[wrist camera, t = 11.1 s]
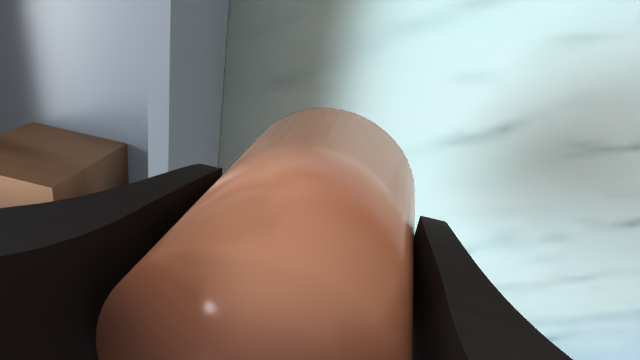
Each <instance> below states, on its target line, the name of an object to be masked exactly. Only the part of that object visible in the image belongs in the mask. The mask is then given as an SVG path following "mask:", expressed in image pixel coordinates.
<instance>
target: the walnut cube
mask: <svg viewBox="0 0 640 360" xmlns="http://www.w3.org/2000/svg"><path fill="white" fill-rule="evenodd" d="M126 184H129V177H128V151H127V143H123V142H118V141H114V140H110V139H105V138H101V137H97V136H92V135H88V134H83V133H79V132H75V131H70V130H66V129H61V128H57V127H53V126H48V125H44V124H40V123H35V122H31V123H29V124H26V125H24V126H21V127H19V128H16V129H13V130H11V131H8V132H6V133H3V134H1V135H0V208H5V207H13V206H22V205H30V204H39V203H45V202H52V201H57V200H63V199H68V198H74V197H78V196H83V195H88V194H92V193H96V192H100V191H104V190H107V189H111V188H115V187H119V186H122V185H126Z"/></svg>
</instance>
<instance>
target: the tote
mask: <svg viewBox="0 0 640 360" xmlns="http://www.w3.org/2000/svg"><path fill="white" fill-rule="evenodd" d="M228 12H229V0H0V135H1V134H3V133H6V132H8V131H11V130H13V129H16V128H19V127H21V126H24V125H26V124H29V123H31V122H35V123H40V124H44V125H48V126H53V127H57V128H61V129H66V130H70V131H75V132H79V133H83V134H88V135H92V136H97V137H101V138H105V139H110V140H114V141H118V142H123V143H127V151H128V177H129V184H130V183H133V182H137V181H140V180H143V179H147V178H150V177H153V176H156V175H159V174H163V173H166V172H169V171H172V170H176V169H179V168H182V167H186V166H190V165H194V164H204V165H209V166H213V167H217V168H218V158H219V143H220V129H221V114H222V99H223V85H224V70H225V56H226V41H227V26H228Z"/></svg>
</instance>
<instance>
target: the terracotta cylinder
mask: <svg viewBox="0 0 640 360" xmlns="http://www.w3.org/2000/svg"><path fill="white" fill-rule="evenodd" d="M414 217H415V187H414V179H413V175H412V171H411V168H410V165H409V163H408V160H407V158H406V157H405V155H404V153H403V151H402V150H401V148H400V147H399V146H398V144H397V143H396V142H395V140H394V139H393V138H392V137H391V136H390V135H389V134H388V133H387V132H386V131H384V130H383V129H382V128H380V127H379V126H378V125H376V124H375V123H373V122H371V121H370V120H368V119H366V118H364V117H362V116H359V115H357V114H355V113H351V112H348V111H344V110H339V109H333V108H314V109H306V110H302V111H298V112H295V113H292V114H290V115H287V116H285V117H283V118H281V119H280V120H278V121H276V122H275V123H274V124H272V125H271V126H270V127H268V128H267V129H266V130H265V131H264V132H263V133H262V134H261V135H260V137H259V138H258V139H257V140H256V141H255V142H254V143H253V144H252V145H251V146H250V147H249V148H248V149H247V150H246V151H245V152H244V153H243V154H242V155H241V156H240V157H239V158H238V159H237V160H236V161H235V162H234V164H233V165H232V166H231V167H230V168H229V169H228V170H227V171H226V172H225V173H224V174H223V175H222V176H221V177H220V178H219V179H218V180H217V181H216V182H215V183H214V184H213V185H212V186H211V187H210V188H209V189H208V191H207V192H206V193H205V194H204V195H203V196H202V197H201V198H200V199H199V200H198V201H197V202H196V203H195V204H194V205H193V206H192V207H191V208H190V209H189V210H188V211H187V212H186V213H185V214H184V215H183V217H182V218H181V219H180V220H179V221H178V222H177V223H176V224H175V225H174V226H173V227H172V228H171V229H170V230H169V231H168V232H167V233H166V234H165V235H164V236H163V237H162V238H161V239H160V240H159V241H158V242H157V244H156V245H155V246H154V247H153V248H152V249H151V250H150V251H149V252H148V253H147V254H146V255H145V256H144V257H143V258H142V259H141V260H140V261H139V262H138V263H137V264H136V265H135V266H134V267H133V268H132V269H131V271H130V272H129V273H128V274H127V275H126V276H125V277H124V278H123V279H122V280H121V281H120V282H119V283H118V284H117V285H116V286H115V287H114V288H113V289H112V291H111V292H110V294H109V296H108V297H107V299H106V300H105V302H104V304H103V307H102V309H101V312H100V314H99V318H98V323H97V328H96V349H97V355H98V360H412V359H413V288H414Z"/></svg>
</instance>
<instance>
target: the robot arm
mask: <svg viewBox="0 0 640 360" xmlns="http://www.w3.org/2000/svg"><path fill="white" fill-rule="evenodd" d="M221 176H222V169H221V168H217V167H213V166H209V165H204V164H194V165H190V166H186V167H182V168H179V169H176V170H172V171H169V172H166V173H163V174H159V175H156V176H153V177H150V178H147V179H143V180H140V181H137V182H133V183H130V184H126V185H122V186H119V187H115V188H111V189H107V190H104V191H100V192H96V193H92V194H88V195H83V196H78V197H74V198H68V199H63V200H57V201H52V202H45V203H39V204H30V205H22V206H13V207H5V208H0V360H98V355H97V349H96V328H97V323H98V318H99V314H100V312H101V309H102V307H103V304H104V302H105V300H106V299H107V297H108V296H109V294H110V292H111V291H112V289H113V288H114V287H115V286H116V285H117V284H118V283H119V282H120V281H121V280H122V279H123V278H124V277H125V276H126V275H127V274H128V273H129V272H130V271H131V269H132V268H133V267H134V266H135V265H136V264H137V263H138V262H139V261H140V260H141V259H142V258H143V257H144V256H145V255H146V254H147V253H148V252H149V251H150V250H151V249H152V248H153V247H154V246H155V245H156V244H157V242H158V241H159V240H160V239H161V238H162V237H163V236H164V235H165V234H166V233H167V232H168V231H169V230H170V229H171V228H172V227H173V226H174V225H175V224H176V223H177V222H178V221H179V220H180V219H181V218H182V217H183V215H184V214H185V213H186V212H187V211H188V210H189V209H190V208H191V207H192V206H193V205H194V204H195V203H196V202H197V201H198V200H199V199H200V198H201V197H202V196H203V195H204V194H205V193H206V192H207V191H208V189H209V188H210V187H211V186H212V185H213V184H214V183H215V182H216V181H217V180H218V179H219V178H220V177H221ZM412 360H573V359H571V358H570V357H569V356H568V355H566V354H565V353H564V352H563V351H561V350H560V349H559V348H558V347H557V346H555V345H554V344H553V343H552V342H550V341H549V340H548V339H547V338H546V337H545V336H544V335H542V334H541V333H540V332H539V331H538V330H537V329H536V328H535V327H534V326H533V325H532V324H530V323H529V322H528V321H527V320H526V319H525V318H524V317H523V316H522V315H521V314H520V313H519V312H518V311H517V310H516V309H515V308H514V307H513V306H512V305H511V304H510V303H509V302H508V301H507V300H506V299H505V298H504V296H503V295H502V294H501V293H500V292H499V291H498V290H497V288H496V287H495V286H494V285H493V284H492V283H491V282H490V280H489V279H488V278H487V277H486V276H485V274H484V273H483V272H482V271H481V269H480V268H479V267H478V266H477V264H476V263H475V262H474V260H473V259H472V258H471V256H470V255H469V254H468V252H467V251H466V249H465V248H464V247H463V245H462V244H461V242H460V241H459V240H458V238H457V237H456V235H455V234H454V232H453V231H452V230H451V228H450V227H449V226H448V224H447V223H446V222H445V221H440V220H436V219H432V218H428V217H423V216H420V219H419V222H418V226H417V229H416V232H415V235H414V288H413V359H412Z"/></svg>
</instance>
